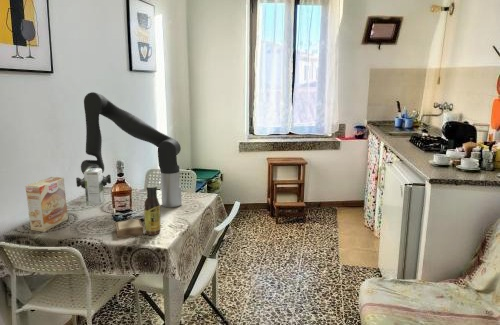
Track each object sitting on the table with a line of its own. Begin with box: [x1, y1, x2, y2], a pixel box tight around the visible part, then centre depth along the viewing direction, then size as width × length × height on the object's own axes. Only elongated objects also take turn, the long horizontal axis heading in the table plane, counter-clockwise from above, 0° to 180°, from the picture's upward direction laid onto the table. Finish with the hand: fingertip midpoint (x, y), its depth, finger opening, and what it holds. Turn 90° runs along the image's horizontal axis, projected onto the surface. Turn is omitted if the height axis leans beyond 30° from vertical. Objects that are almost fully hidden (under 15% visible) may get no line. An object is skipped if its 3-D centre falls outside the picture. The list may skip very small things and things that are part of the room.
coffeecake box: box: [24, 176, 69, 232], centre depth 161 cm, size 15×7×20 cm, turn 168°
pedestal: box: [115, 218, 144, 239], centre depth 156 cm, size 10×10×3 cm
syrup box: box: [83, 168, 105, 206], centre depth 155 cm, size 6×6×14 cm
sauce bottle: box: [144, 184, 162, 236], centre depth 153 cm, size 6×6×20 cm
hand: (94, 185), depth 153 cm, fingers closed on syrup box, 7 cm apart
